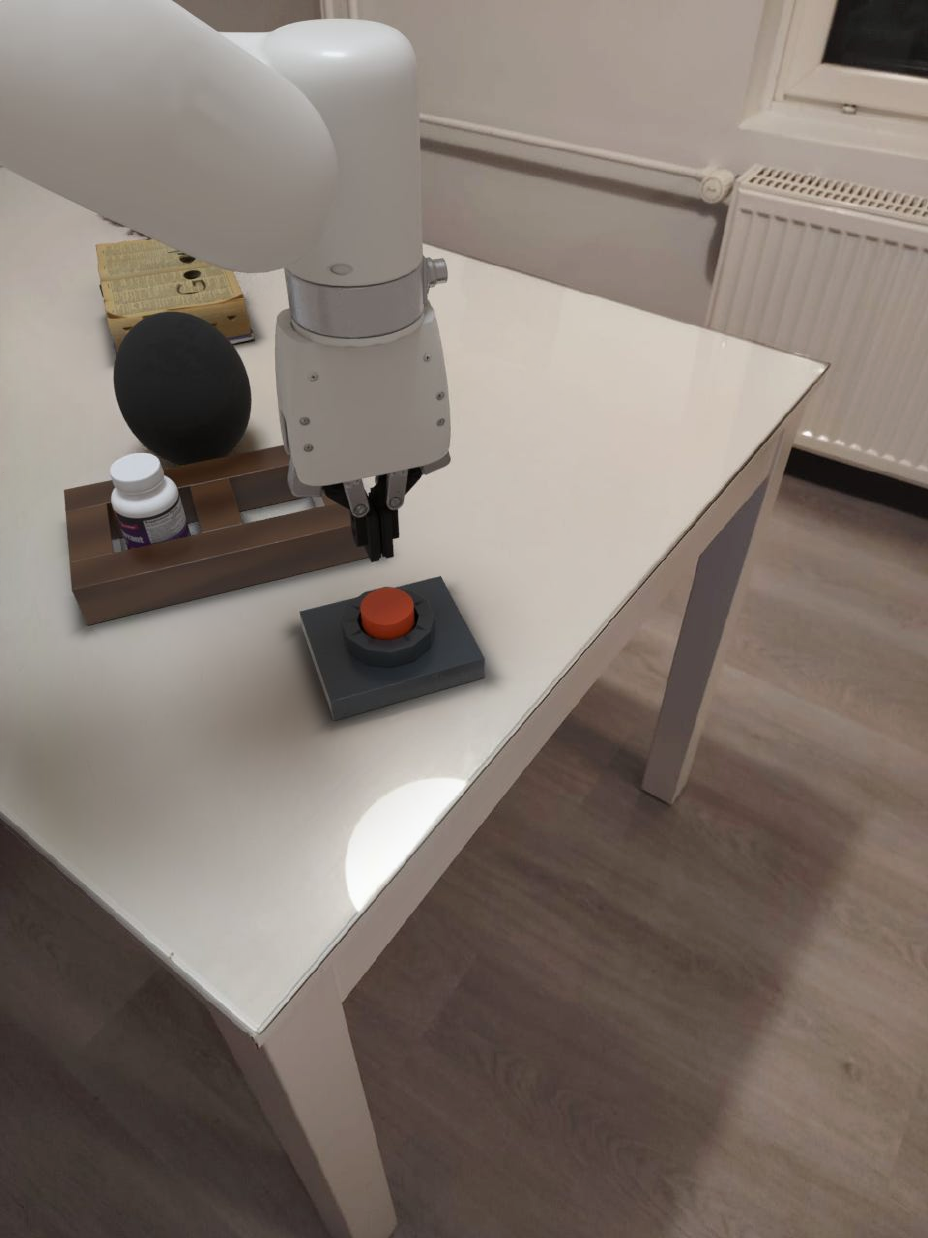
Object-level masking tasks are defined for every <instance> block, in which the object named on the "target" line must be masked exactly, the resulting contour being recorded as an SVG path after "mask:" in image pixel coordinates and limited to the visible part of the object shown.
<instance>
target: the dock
mask: <svg viewBox="0 0 928 1238" xmlns="http://www.w3.org/2000/svg"><path fill="white" fill-rule="evenodd" d="M289 461H290V454H289V455H288V454H287V452H286V450H285V447H284V444H281V445H276V446H271V447H266V448H262V449H255V450H252V451H246V452H242V453H237V454H236V453H235V454H231V455H226V456H225V457H222V458H217V459H212V460H207V461H202V462H197V463H192V464H187V465H177V466H173V467H168V468H162V469H163V471H164V475H165V476H167V477H168V478H170V479H171V480H172V481H173V482H174V483H175V485H176V487H177V490H178V493H179V496H180V499H181V503H182V506H183V510H184V513H185V517H186V520H187V524H189V523H193V522H198V523H199V528H200V532H201V533H197V534H193V535H192V534H191V536H188V537H183V538H179V539H175V540H170V541H166V542H161V543H157V544H152V545H148V546H143V547H139V548H135V549H130V550H128V549H125V550H122V545H121V539H122V538H124V537H123V534H122V531H121V528H120V526H119V523H118V520H117V517H116V515H115V512H114V509H113V506H112V502H111V496H112V492H113V490H114V489H115V486H114V484H113V481H112V479H109V480H104V481H100V482H95V483H90V484H85V485H81V486H76V487H70V488H66V489H63V499H64V510H65V512H64V513H65V523H66V524H65V525H66V534H67V549H68V560H69V572H70V573H69V574H70V585H71V592H72V594H73V597H74V599H75V601H76V603H77V605H78V608H79V610H80V613H81V615H82V616H83V619H84V621H85V623H86V626H91V625H95V624H99V623H103V622H108V621H111V620H117V619H119V618H120V619H121V618H124V617H128V616H131V615H136V614H140V613H144V612H149V611H153V610H156V609H160V608H164V607H168V606H169V607H170V606H173V605H177V604H181V603H185V602H189V601H194V600H198V599H203V598H205V597H206V598H207V597H210V596H214V595H219V594H222V593H226V592H231V591H235V590H239V589H243V588H247V587H251V586H255V585H260V584H263V583H268V582H271V581H276V580H279V579H280V580H281V579H284V578H288V577H293V576H296V575H300V574H305V573H309V572H313V571H317V570H321V569H325V568H330V567H334V566H338V565H342V564H346V563H351V562H355V561H358V560H363V559H366V558H369V556H368V554H367V552H366V550H365V547H364V546H361V547H357V546H356V544H355V542H354V539H353V536H352V530H351V520H350V511H349V509H347V508H345V507H344V506H342V505H340V504H338V503H336V502H335V501H333V500H331V499H329V498H328V497H327V496H321V497H311V498H312V500H313V503H314V505H315V507H313V508H309V509H304V510H300V511H295V512H291V513H290V512H289V513H286V514H281V515H277V516H273V517H269V518H268V517H267V518H263V519H260V520H259V519H258V520H254V521H250V522H246V523H244V522H243V520H242V516H241V513H240V512H243V511H248V510H253V509H258V508H261V507H266V506H270V505H275V504H279V503H285V502H290V501H293V500H298V499H302V498H304V497H295V496H293V495H292V493H291V491H290V488H289V486H288V483H287V477H288V469H289Z"/></svg>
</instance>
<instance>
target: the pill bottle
mask: <svg viewBox="0 0 928 1238" xmlns="http://www.w3.org/2000/svg"><path fill="white" fill-rule="evenodd" d="M163 469H164V468H163V467H162V464H161V461H160V458H158V456H157V455H155V454H153V453H149V452H134V453H129V454H126V455H123V456H122V457H119V458H118V459H116V460H115V461H114V462H113V463H112V464H111V466H110V467H109V474H110V477H111V480H112V481H113V484H114V486H115V489H114V490H113V492H112V496H111V502H112V506H113V509H114V512H115V515H116V517H117V520H118V523H119V526H120V528H121V531H122V534H123V537H122V538H123V539H124V542H125V545H126V547H127V550H130V549H135V548H139V547H143V546H148V545H152V544H157V543H161V542H166V541H170V540H175V539H179V538H183V537H188V536H192V534H191V530H190V528H189V523H187V520H186V517H185V513H184V510H183V506H182V503H181V499H180V496H179V493H178V490H177V487H176V485H175V483H174V482H173V481H172V480H171V479H170V478H168V477H167V476H165V475H164V471H163Z"/></svg>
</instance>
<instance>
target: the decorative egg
mask: <svg viewBox="0 0 928 1238" xmlns="http://www.w3.org/2000/svg"><path fill="white" fill-rule="evenodd" d="M112 378H113V389H114V394H115V399H116V403H117V406H118V410H119V411H120V413H121V416H122V418H123V420H124V422H125V423H126V425H127V427H128V429H129V430H130V431H131V433H132V434H133V435H134V436H135V438H136V439H137V440H138V441H139V442H140V443H141V444H142V446H144V447H145V448H146V449H147V450H149V451H150V452H152V454H153V455H155V456H156V457H159V458H160V459H163V460H165V461H167V462H170V463H173V464H176V465H179V466H182V465H187V464H192V463H197V462H202V461H207V460H212V459H217V458H222V457H226V456H228V455H229V454H230V453H231V452H232V451H233V450H234V449H235V448H236V447H237V446H238V444H239V443H240V442H241V440H242V439H243V437H244V435H245V433H246V431H247V428H248V425H249V422H250V419H251V413H252V403H253V402H252V399H253V398H252V388H251V383H250V379H249V374H248V371H247V369H246V367H245V363H244V362H243V359H242V358H241V356H240V354H239V352H238V350H237V349H236V348H235V345H234V344H231V342H230V341H229V340H228V339H227V338H226V336H225V335H224V334H223V333H221V332H220V331H219V330H218V329H217V328H216V327H214V326H213V325H211V324H210V323H208V322H207V321H205V320H203V319H201V318H199V317H196V316H194V315H191V314H187V313H183V312H161V313H157V314H153V315H151V316H149V317H146V318H144V319H143V320H141V321H140V322H138V323H137V324H136V325H135V326H133V327H132V329H131V330H130V331H129V332H128V333H127V334H126V336H125V337H124V339H123V341H122V342H121V344H120V347H119V349H118V352H117V355H116V358H114V366H113V377H112Z"/></svg>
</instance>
